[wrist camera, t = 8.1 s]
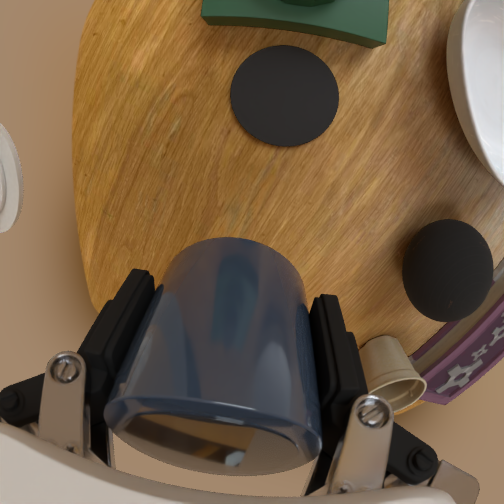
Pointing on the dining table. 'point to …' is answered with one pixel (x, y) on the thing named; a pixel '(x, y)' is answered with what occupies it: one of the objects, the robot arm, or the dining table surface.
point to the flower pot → (391, 372)
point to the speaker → (447, 270)
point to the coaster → (284, 95)
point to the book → (463, 348)
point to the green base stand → (307, 17)
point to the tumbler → (222, 365)
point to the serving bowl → (479, 78)
